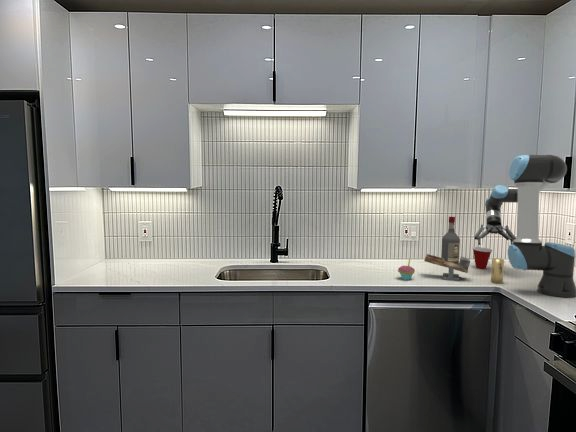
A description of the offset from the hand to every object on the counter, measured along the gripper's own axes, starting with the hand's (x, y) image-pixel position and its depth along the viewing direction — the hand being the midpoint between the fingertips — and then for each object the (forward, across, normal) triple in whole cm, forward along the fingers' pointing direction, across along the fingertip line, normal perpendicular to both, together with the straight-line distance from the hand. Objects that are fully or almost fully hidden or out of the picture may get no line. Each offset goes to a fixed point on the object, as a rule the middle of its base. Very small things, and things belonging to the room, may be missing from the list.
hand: (495, 250), depth 206 cm
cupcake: (+26, +44, +4) cm, 52 cm away
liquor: (-7, +22, -29) cm, 37 cm away
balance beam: (+13, +25, +1) cm, 28 cm away
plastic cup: (-5, +4, -26) cm, 27 cm away
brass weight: (+18, 0, -3) cm, 18 cm away
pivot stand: (+18, +22, -3) cm, 29 cm away
